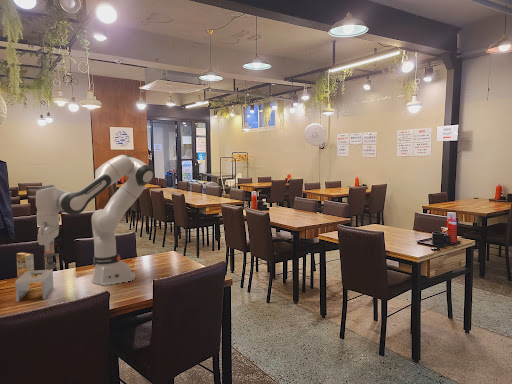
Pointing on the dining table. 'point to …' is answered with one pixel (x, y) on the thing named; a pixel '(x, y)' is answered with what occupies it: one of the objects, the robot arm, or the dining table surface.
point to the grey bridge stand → (25, 279)
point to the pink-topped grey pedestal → (50, 258)
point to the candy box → (25, 263)
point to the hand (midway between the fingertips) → (49, 249)
